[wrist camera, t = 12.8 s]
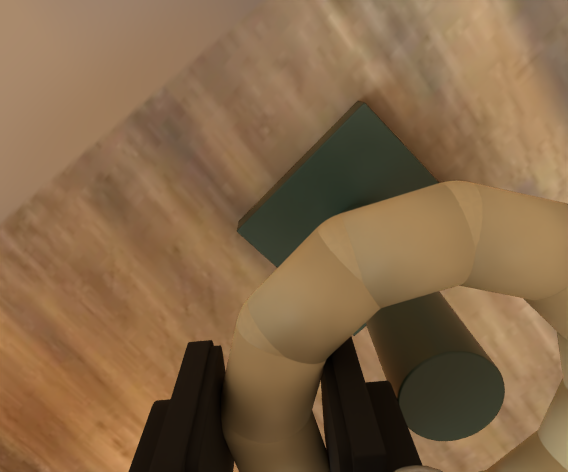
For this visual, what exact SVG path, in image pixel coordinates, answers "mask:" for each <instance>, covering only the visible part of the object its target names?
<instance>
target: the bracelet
mask: <svg viewBox="0 0 568 472" xmlns="http://www.w3.org/2000/svg"><path fill="white" fill-rule="evenodd" d="M458 285H460V286H465V287H470V288H475V289H480V290H485V291H490V292H495V293H500V294H505V295H510V296H515V297H520V298H523V299H524V300H526V301H527V302H528V303H529V304H530V305H531V306H532V307H533V308H534V309H535V310H536V311H537V312H538V313H539V314H540V315H541V316H542V317H543V318H544V319H545V320H546V321H547V322H548V323H549V324H550V325H551V326H552V327H553V328H554V329H555V330H556V331H557V337H558V344H559V352H560V359H561V366H562V373H563V379H562V381H561V383H560V385H559V387H558V390H557V392H556V394H555V396H554V398H553V400H552V402H551V404H550V406H549V408H548V410H547V413H546V415H545V417H544V419H543V421H542V423H541V425H540V427H539V429H538V430H537V431H536V432H535V433H533V434H532V435H531V436H530V437H528V438H527V439H526V440H524V441H523V442H522V443H521V444H519V445H518V446H517V447H515V448H514V449H513V450H512V451H510V452H509V453H508V454H506V455H505V456H504V457H503V458H501V459H500V460H499V461H497V462H496V463H495V464H494V465H492V466H491V467H490V468H488V469H487V470H484V471H480V472H568V204H566V203H562V202H558V201H553V200H549V199H544V198H540V197H535V196H531V195H526V194H522V193H517V192H513V191H508V190H504V189H499V188H495V187H490V186H486V185H481V184H477V183H472V182H466V181H458V180H457V181H447V182H442V183H438V184H435V185H432V186H428V187H425V188H422V189H419V190H415V191H412V192H409V193H406V194H402V195H399V196H396V197H393V198H389V199H386V200H383V201H380V202H376V203H373V204H370V205H367V206H363V207H360V208H357V209H354V210H350V211H347V212H344V213H341V214H338V215H335V216H333V217H331V218H329V219H327V220H326V221H324V222H323V223H321V224H320V225H319V226H318V227H317V228H316V229H315V230H314V231H313V232H312V233H311V234H310V235H309V236H308V237H307V238H306V239H305V240H304V241H303V242H302V243H301V244H300V245H299V246H298V247H297V249H296V250H295V251H294V252H293V253H292V254H291V255H290V256H289V257H288V258H287V259H286V260H285V261H284V262H283V263H282V264H281V265H280V266H279V267H278V268H277V269H276V270H275V271H274V272H273V273H272V274H271V275H270V276H269V277H268V278H267V279H266V280H265V281H264V282H263V283H262V284H261V285H260V286H259V287H258V288H257V289H256V290H255V292H254V293H253V294H252V295H251V296H250V297H249V298H248V299H247V300H246V302H245V303H244V304H243V306H242V308H241V310H240V312H239V315H238V318H237V322H236V326H235V331H234V335H233V340H232V345H231V349H230V354H229V359H228V363H227V368H226V373H225V377H224V382H223V387H222V391H221V422H222V430H223V435H224V438H225V440H226V443H227V445H228V447H229V450H230V452H231V454H232V456H233V459H234V461H235V463H236V465H237V468H238V470H239V472H330V468H329V459H328V453H327V449H326V448H325V445H324V442H323V439H322V437H321V434H320V431H319V428H318V425H317V423H316V420H315V417H314V414H313V411H312V408H313V404H314V401H315V397H316V394H317V391H318V387H319V384H320V380H321V377H322V373H323V366H324V364H325V362H326V359H327V358H328V357H329V356H330V355H331V354H332V353H333V352H334V351H335V350H337V349H338V348H339V347H340V346H341V345H342V344H343V343H344V342H345V341H346V340H347V339H348V338H349V337H351V336H352V335H353V334H354V333H355V332H356V331H357V330H358V329H359V328H360V327H361V326H362V325H363V324H364V323H366V322H367V321H368V320H369V319H370V318H371V317H372V316H373V315H374V314H375V313H376V312H377V311H378V310H380V309H381V308H383V307H386V306H390V305H393V304H397V303H400V302H404V301H407V300H410V299H414V298H417V297H421V296H424V295H428V294H431V293H434V292H438V291H441V290H445V289H448V288H452V287H455V286H458Z"/></svg>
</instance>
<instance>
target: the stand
mask: <svg viewBox="0 0 568 472" xmlns="http://www.w3.org/2000/svg"><path fill="white" fill-rule="evenodd" d="M438 183H439V182H438V181H437V180H436V179H435V178H434V177H433V176H432V175H431V173H430V172H429V171H428V170H427V169H426V168H425V167H424V166H423V165H422V164H421V163H420V162H419V160H418V159H417V158H416V157H415V156H414V155H413V154H412V153H411V152H410V151H409V150H408V149H407V148H406V146H405V145H404V144H403V143H402V142H401V141H400V140H399V139H398V138H397V137H396V136H395V135H394V134H393V132H392V131H391V130H390V129H389V128H388V127H387V126H386V125H385V124H384V123H383V122H382V121H381V120H380V118H379V117H378V116H377V115H376V114H375V113H374V112H373V111H372V110H371V109H370V108H369V107H368V106H367V104H366V103H364V102H361V101H357V102H356V103H355V104H354V105H353V106H352V107H351V108H350V109H349V110H348V111H347V112H346V113H345V114H344V115H343V117H342V118H341V119H340V120H339V121H338V122H337V123H336V124H335V125H334V126H333V127H332V128H331V129H330V130H329V131H328V132H327V133H326V134H325V135H324V136H323V137H322V138H321V139H320V140H319V141H318V142H317V143H316V144H315V145H314V146H313V147H312V148H311V149H310V150H309V151H308V152H307V153H306V154H305V155H304V156H303V157H302V158H301V159H300V160H299V161H298V162H297V163H296V164H295V165H294V166H293V167H292V168H291V169H290V170H289V171H288V172H287V173H286V174H285V175H284V176H283V177H282V178H281V179H280V180H279V181H278V182H277V183H276V184H275V185H274V186H273V187H272V188H271V189H270V190H269V191H268V192H267V193H266V194H265V195H264V196H263V197H262V198H261V199H260V200H259V201H258V203H257V204H256V205H255V206H254V207H253V208H252V209H251V210H250V211H249V212H248V213H247V214H246V215H245V216H244V217H243V218H242V219H241V220H240V221H239V223H238V227H237V232H238V233H239V234H240V235H241V236H242V237H244V238H245V239H246V240H247V241H248V242H249V243H250V244H251V245H253V246H254V247H255V248H256V249H257V250H258V251H259V252H260V253H261V254H263V255H264V256H265V257H266V258H267V259H268V260H269V261H270V262H272V263H273V264H274V265H275V266H276V267H277V268H278V267H279V266H280V265H281V264H282V263H283V262H284V261H285V260H286V259H287V258H288V257H289V256H290V255H291V254H292V253H293V252H294V251H295V250H296V249H297V247H298V246H299V245H300V244H301V243H302V242H303V241H304V240H305V239H306V238H307V237H308V236H309V235H310V234H311V233H312V232H313V231H314V230H315V229H316V228H317V227H318V226H319V225H320V224H321V223H323V222H324V221H326V220H327V219H329V218H331V217H333V216H335V215H338V214H341V213H344V212H347V211H350V210H354V209H357V208H360V207H363V206H367V205H370V204H373V203H376V202H380V201H383V200H386V199H389V198H393V197H396V196H399V195H402V194H406V193H409V192H412V191H415V190H419V189H422V188H425V187H428V186H432V185H435V184H438ZM366 325H367V328H368V331H369V333H370V336H371V339H372V342H373V344H374V347H375V350H376V352H377V355H378V358H379V361H380V363H381V366H382V369H383V371H384V374H385V377H386V380H387V381H389V382H390V383H391V385H392V387H393V390H394V392H395V395H396V398H397V400H398V403H399V406H400V408H401V411H402V413H403V416H404V419H405V421H406V424H407V426H408V428H409V429H410V430H412V431H413V432H414V433H416V434H418V435H420V436H422V437H424V438H427V439H431V440H436V441H453V440H459V439H462V438H466V437H468V436H471V435H473V434H475V433H477V432H479V431H480V430H482V429H483V428H485V427H486V426H487V425H488V424H489V423H490V422H491V421H492V420H493V419H494V418H495V416H496V415H497V414H498V412H499V410H500V408H501V406H502V403H503V400H504V393H505V388H504V381H503V378H502V375H501V373H500V371H499V370H498V368H497V367H496V366H495V364H494V363H493V362H492V360H491V359H490V358H489V356H488V355H487V354H486V352H485V351H484V350H483V348H482V347H481V346H480V344H479V343H478V342H477V341H476V339H475V338H474V337H473V335H472V334H471V333H470V331H469V330H468V329H467V327H466V326H465V325H464V323H463V322H462V321H461V319H460V318H459V317H458V315H457V314H456V313H455V312H454V310H453V309H452V308H451V306H450V305H449V304H448V302H447V301H446V300H445V298H444V297H443V296H442V294H441V293H440V292H439V291H438V292H434V293H431V294H428V295H424V296H421V297H417V298H414V299H410V300H407V301H404V302H400V303H397V304H393V305H390V306H386V307H383V308H381V309H380V310H378V311H377V312H376V313H375V314H374V315H373V316H372V317H371V318H370V319H369V320H368V321H367V322H366V323H364V324H363V325H362V326H361V327H360V328H359V329H358V330H357V331H356V332H355V333H354V334H353V336H355V335H356V334H357V333H358V332H359V331H361V330H362V329H363V328H364V327H365V326H366Z"/></svg>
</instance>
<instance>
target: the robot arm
mask: <svg viewBox="0 0 568 472" xmlns="http://www.w3.org/2000/svg"><path fill="white" fill-rule="evenodd" d="M224 377H225V366H224V359H223V352H222V347H221V346H214V345H213V341H212V340H208V341H197V342H189V343H188V345H187V348H186V351H185V355H184V358H183V361H182V364H181V368H180V371H179V374H178V377H177V381H176V384H175V387H174V390H173V394H172V397H171V399H170V400H159V401H155V402H154V404H153V406H152V408H151V411H150V413H149V416H148V419H147V422H146V425H145V427H144V430H143V433H142V436H141V439H140V441H139V444H138V447H137V450H136V453H135V456H134V458H133V461H132V464H131V467H130V470H129V472H233V468H234V459H233V456H232V454H231V452H230V450H229V447H228V445H227V443H226V440H225V438H224V435H223V430H222V422H221V391H222V387H223V382H224ZM321 391H322V405H323V420H324V433H325V442H326V449H327V453H328V459H329V468H330V472H443V471H441V470H439V469H435V468H432V467H429V466H422V463H421V460H420V458H419V455H418V453H417V450H416V447H415V445H414V442H413V440H412V437H411V434H410V432H409V429H408V426H407V424H406V421H405V419H404V416H403V413H402V411H401V408H400V406H399V403H398V400H397V398H396V395H395V392H394V390H393V387H392V385H391V383H390V382H389V381H378V382H366V383H365V380H364V377H363V374H362V370H361V367H360V364H359V360H358V357H357V354H356V350H355V347H354V344H353V340H352V337H349V338H348V339H347V340H346V341H345V342H344V343H343V344H342V345H341V346H340V347H339V348H338V349H337V350H335V351H334V352H333V353H332V354H331V355H330V356H329V357H328V358H327V359H326V362H325V364H324V366H323V373H322V377H321Z"/></svg>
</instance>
